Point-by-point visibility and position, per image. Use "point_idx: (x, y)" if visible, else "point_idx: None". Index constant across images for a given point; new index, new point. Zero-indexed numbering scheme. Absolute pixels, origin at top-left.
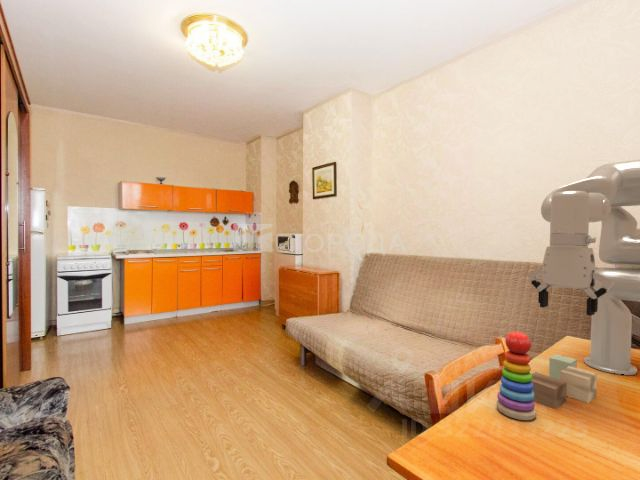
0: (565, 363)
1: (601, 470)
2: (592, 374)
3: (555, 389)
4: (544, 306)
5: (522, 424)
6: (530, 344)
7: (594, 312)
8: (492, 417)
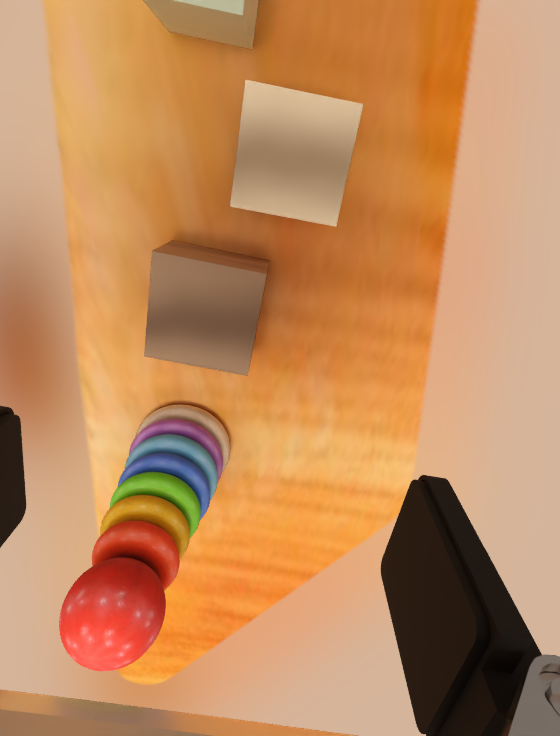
0: (220, 13)
1: (361, 533)
2: (346, 132)
3: (248, 370)
4: (21, 492)
5: None
6: (161, 617)
7: (447, 491)
8: None
